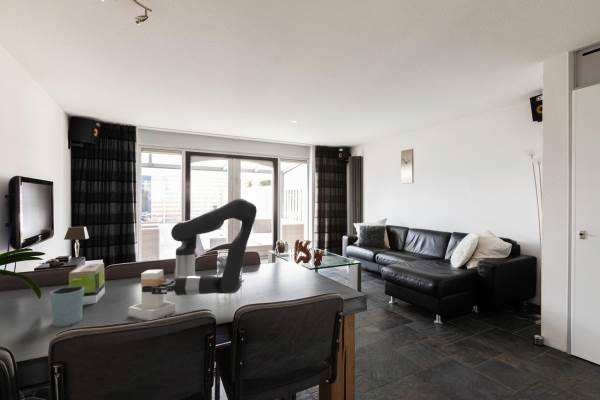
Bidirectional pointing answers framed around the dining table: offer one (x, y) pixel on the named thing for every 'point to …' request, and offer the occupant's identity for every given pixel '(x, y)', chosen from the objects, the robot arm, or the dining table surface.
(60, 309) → the light blue cup
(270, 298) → the dining table surface
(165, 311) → the white rectangular dish
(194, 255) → the robot arm
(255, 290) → the dining table surface
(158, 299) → the carton
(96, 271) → the tea box
